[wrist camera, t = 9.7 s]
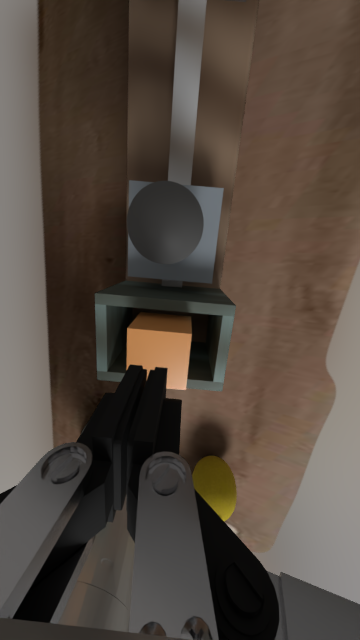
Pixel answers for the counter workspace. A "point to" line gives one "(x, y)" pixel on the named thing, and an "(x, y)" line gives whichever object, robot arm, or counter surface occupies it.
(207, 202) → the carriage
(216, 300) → the rail base
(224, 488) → the lemon
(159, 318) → the orange block
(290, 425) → the counter surface
